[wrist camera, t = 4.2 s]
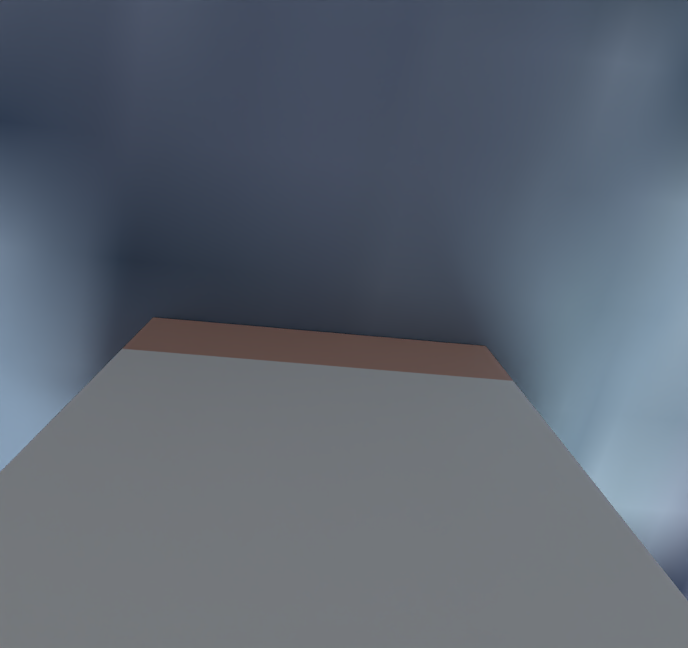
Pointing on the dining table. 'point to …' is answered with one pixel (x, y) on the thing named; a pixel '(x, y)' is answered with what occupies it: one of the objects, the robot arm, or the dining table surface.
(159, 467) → the sleeve
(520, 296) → the dining table surface
